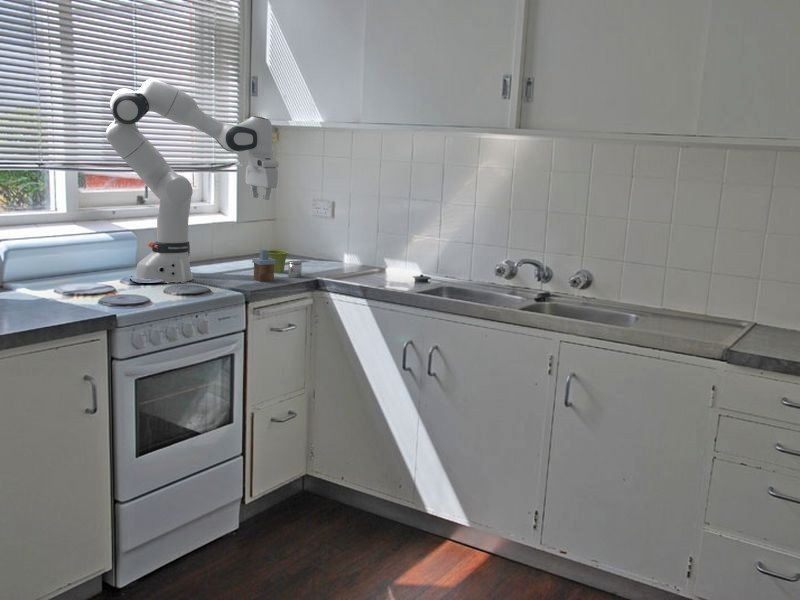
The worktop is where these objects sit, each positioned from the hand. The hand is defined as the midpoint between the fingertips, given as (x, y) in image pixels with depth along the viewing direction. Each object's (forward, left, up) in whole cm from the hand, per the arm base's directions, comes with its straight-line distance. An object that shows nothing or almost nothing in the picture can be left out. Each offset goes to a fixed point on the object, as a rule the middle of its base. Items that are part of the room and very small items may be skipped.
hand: (260, 198), depth 316 cm
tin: (+14, -2, -31) cm, 34 cm away
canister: (-1, -5, -31) cm, 31 cm away
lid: (-1, -5, -24) cm, 24 cm away
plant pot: (+12, +11, -31) cm, 35 cm away
